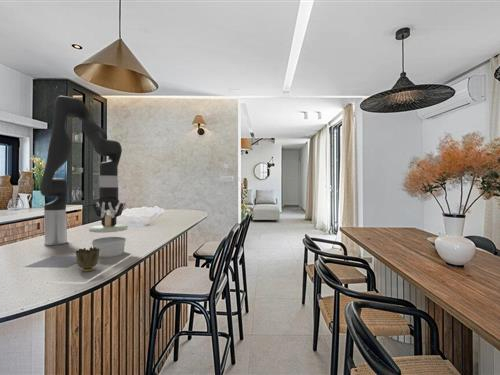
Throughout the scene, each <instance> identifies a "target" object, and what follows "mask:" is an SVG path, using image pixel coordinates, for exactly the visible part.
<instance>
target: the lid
mask: <svg viewBox="0 0 500 375" xmlns="http://www.w3.org/2000/svg"><path fill="white" fill-rule="evenodd" d="M111 218H112V216H111V214H107V215H105V226H103V225H102V224H100V225H93V226H90V227H88V228H89V232H91V233H99V234H100V233H103V234H105V233H116V232H123V231H127V230H128V228H129V227H128V226H129V225H127V224H120V223H119V224H117V223H116V225H115V226H113V227H112V226H111Z"/></svg>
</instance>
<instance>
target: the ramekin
mask: <svg viewBox="0 0 500 375" xmlns="http://www.w3.org/2000/svg"><path fill="white" fill-rule="evenodd" d="M91 245H92V248H95V247H96V248H97V249H98V248H99V249H100V250H99V258H109V257H111V258H113V257H116V256H120V255H123V254H124V252H125V245H126V237H123V236H105V237H99V238H95V239H93V240H91Z"/></svg>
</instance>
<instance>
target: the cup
mask: <svg viewBox="0 0 500 375" xmlns="http://www.w3.org/2000/svg"><path fill="white" fill-rule="evenodd" d="M99 250H100V249H99V248H98V249H97V248H96V247H95V248H93V246H90V247H89V249H86V247H83V248H79V249H78V250H77V249H76V250H75V256H76V258H77V265H78V267H79V268H81V272H84V273H88V272H93V271H94V270H95V268H94V267H96V266H97V264H98V262H99V258H100V257H99Z"/></svg>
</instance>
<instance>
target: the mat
mask: <svg viewBox="0 0 500 375" xmlns="http://www.w3.org/2000/svg"><path fill="white" fill-rule="evenodd" d="M74 265H78V263H77V258H76V255H52V256H49V257H47V258H44V259H42V260H39V261H36V262H34V263H31V264H28V265H26V266H24V268H59V269H60V268H62V269H63V268H70V267H73V266H74Z"/></svg>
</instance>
